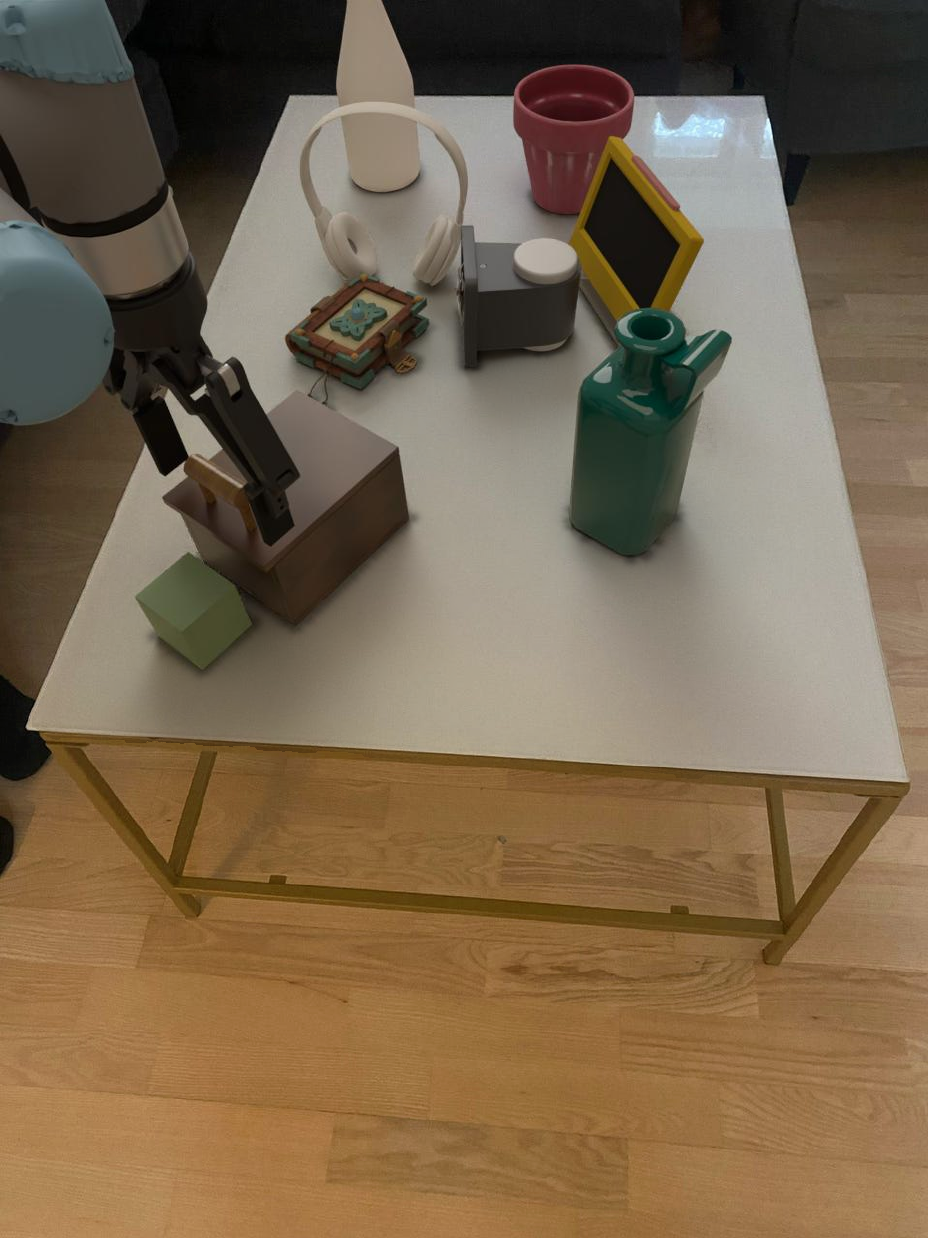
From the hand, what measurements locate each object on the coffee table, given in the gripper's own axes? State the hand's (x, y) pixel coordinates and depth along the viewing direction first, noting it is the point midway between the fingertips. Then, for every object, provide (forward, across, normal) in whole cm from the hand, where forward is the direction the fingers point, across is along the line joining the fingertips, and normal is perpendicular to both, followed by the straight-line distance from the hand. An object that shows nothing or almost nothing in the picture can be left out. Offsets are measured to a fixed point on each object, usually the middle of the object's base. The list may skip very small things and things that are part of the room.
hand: (225, 498), depth 74 cm
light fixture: (+12, +2, -42) cm, 44 cm away
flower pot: (+12, +13, -68) cm, 70 cm away
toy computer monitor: (+12, -7, -52) cm, 54 cm away
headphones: (+12, +20, -42) cm, 48 cm away
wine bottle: (+12, +36, -58) cm, 69 cm away
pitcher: (+12, -23, -26) cm, 37 cm away
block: (+12, 0, +7) cm, 13 cm away
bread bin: (+11, 0, -6) cm, 13 cm away
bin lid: (+3, 0, -6) cm, 6 cm away
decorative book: (+12, +14, -28) cm, 34 cm away
